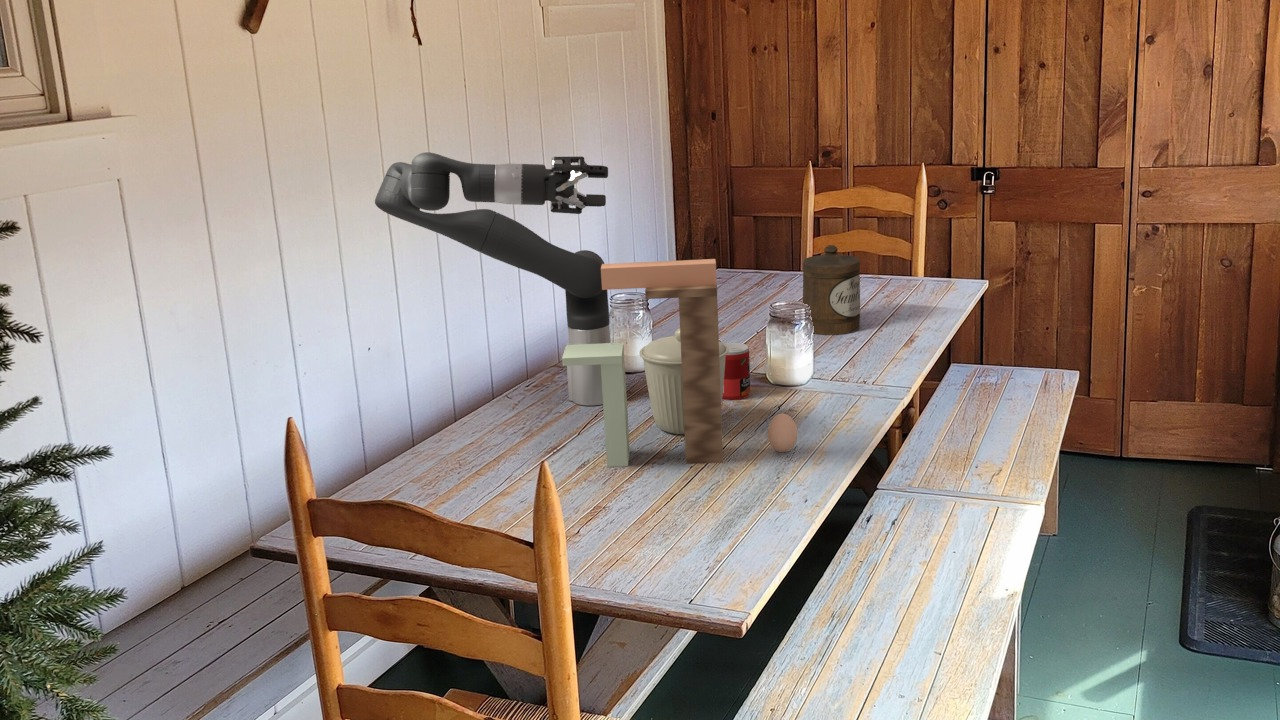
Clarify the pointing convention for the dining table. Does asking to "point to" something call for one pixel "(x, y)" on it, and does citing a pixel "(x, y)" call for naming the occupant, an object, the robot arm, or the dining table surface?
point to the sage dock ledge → (608, 394)
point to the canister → (670, 380)
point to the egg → (782, 433)
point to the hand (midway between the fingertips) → (606, 186)
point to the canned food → (736, 372)
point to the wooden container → (832, 292)
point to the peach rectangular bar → (658, 274)
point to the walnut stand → (699, 369)
